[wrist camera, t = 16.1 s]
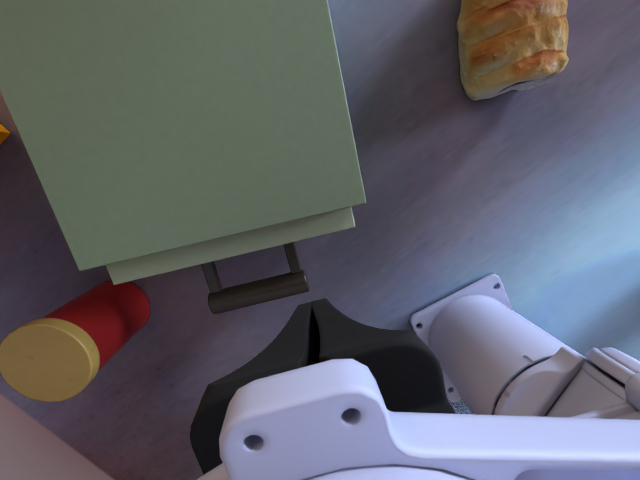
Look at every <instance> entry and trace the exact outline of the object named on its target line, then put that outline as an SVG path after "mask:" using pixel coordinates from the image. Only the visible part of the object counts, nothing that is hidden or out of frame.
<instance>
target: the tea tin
mask: <svg viewBox="0 0 640 480" xmlns="http://www.w3.org/2000/svg"><path fill="white" fill-rule="evenodd" d="M149 314H150V304H149V301H148V298H147V296H146V295H145V293H144V292H143V291H142V290H141V289H140V288H139V287H137V286H136V285H134V284H132V283H130V282H125V283H121V284H116V285H114V284H113V282H112V280H111V281H107V282H104V283H102V284H100V285H98V286H97V287H95V288H93V289H91V290H90V291H88V292H86V293H84V294H83V295H81V296H79V297H77V298H76V299H74V300H72V301H70V302H69V303H67V304H65V305H63V306H62V307H60V308H58V309H56V310H55V311H53V312H51V313H49V314H48V315H46V316H44V317H43V318H41V319H37V320H34V321H31V322H29V323H26V324H25V325H23V326H21V327H19V328H17V329H16V330H14V331H12V332H11V333H10V334H9V335H7V336H6V338H5V339H4V340H3V341H2V343H1V345H0V373H1V375H2V376H3V378H4V380H5V381H6V382H7V383H8V384H9V385H10V386H11V387H12V388H13V389H14V390H15V391H17V392H18V393H20V394H22V395H23V396H26V397H28V398H30V399H33V400H37V401H43V402H58V401H63V400H67V399H70V398H72V397H74V396H76V395H77V394H79V393H80V392H81V391H82V390H84V388H85V387H86V386H87V385H88V384H89V383H90V382H91V381H92V380H93V379H94V377H95V376H96V374H97V372H98V371H99V370H100V369H101V368H102V367H103V366H104V365H105V364H106V363H107V362H108V361H109V360H110V359H111V358H112V357H113V356H114V355H115V354H116V353H117V351H118V350H119V349H120V348H121V347H122V346H123V345H124V344H125V343H126V342H127V341H128V340H129V339H130V338H131V337H132V336H133V335H134V334H135V333H136V332H137V331H138V330H139V329H140V328H141V327H142V326H143V325H144V324H145V323H146V322H147V320H148V318H149Z"/></svg>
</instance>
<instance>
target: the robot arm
mask: <svg viewBox="0 0 640 480" xmlns="http://www.w3.org/2000/svg"><path fill="white" fill-rule="evenodd" d="M496 283H497V285H496V287H494V285H495V284H496ZM409 321H410V323H411V325H412V327H413V329H414V331H415V333H416V334H415V333H414V332H413V331H411V330H386V329H379V328H374V327H371V326H367V325H364V324H361V323H359V322H356V321H354V320H352V319H350V318H349V317H347V316H345V315H344V314H342V313H341V312H340V311H339V310H337V309H336V308H335V307H334V306H333V305H332V304H331V303H330V302H329V301H328V300H327V299H325V298H324V299H320V300H316V301H313V302H309V303H305V304H301V305H298V307H297V308H296V310H295V311H294V313H293V315H292V316H291V318H290V320H289V321H288V323H287V324H286V326H285V327H284V328H283V329H282V331H281V332H280V333H279V335H278V336H277V337H276V338H275V339H274V340H273V342H272V343H271V344H270V345H269V346H268V347H267V348H265V349H264V350H263V351H262V352H261V353H259V354H258V355H257V356H256V357H255V358H253V359H252V360H251V361H249V362H248V363H246V364H245V365H244V366H242V367H240V368H239V369H237V370H236V371H234V372H232V373H230V374H229V375H227V376H225V377H223V378H221V379H219V380H217V381H215V382H213V383H211V384H208V386H207V388H206V391H205V393H204V395H203V397H202V399H201V402H200V405H199V407H198V410H197V412H196V415H195V417H194V420H193V422H192V425H191V432H190V440H191V444H192V448H193V450H194V453H195V455H196V457H197V460H198V462H199V464H200V467H201V469H202V471H203V474H204V475H203V476H201V477H200V478H198V479H197V480H640V361H638V360H636V359H635V358H633V357H631V356H629V355H627V354H625V353H623V352H621V351H619V350H617V349H615V348H612V347H609V348H600V349H597V348H591V349H589V351H588V352H587V354H586V355H585V356H586V357H585V356H582V355H581V354H579V353H578V352H576V351H575V350H573V349H571V348H570V347H568V346H567V345H565V344H564V343H562V342H561V341H559V340H558V339H556V338H554V337H553V336H551V335H550V334H548V333H547V332H545V331H544V330H542V329H540V328H539V327H537V326H536V325H534V324H533V323H531V322H530V321H528V320H526V319H525V318H523V317H522V316H520V315H519V314H517V313H516V312H514V311H513V309H512V307H511V304H510V302H509V299H508V297H507V294H506V292H505V290H504V287H503V285H502V282H501V280H500V278H499V276H497V275H495V274H491V275H488V276H487V277H485V278H483V279H481V280H479V281H477V282H475V283H473V284H471V285H469V286H467V287H465V288H463V289H461V290H459V291H457V292H456V293H454V294H452V295H450V296H448V297H446V298H444V299H442V300H440V301H438V302H436V303H434V304H432V305H430V306H428V307H426V308H425V309H423V310H421V311H419V312H417V313H415V314H413V315H412V316H411V317H410V319H409ZM419 323H421V324H420V326H418V327H416V325H417V324H419ZM450 387H451V388H450ZM449 388H450V389H449ZM446 395H447V396H446ZM447 397H448V399H449V400H450V401H451V402H452V403H456V402H458V401H460V400H462V399H463V400H464V402H465V403H466V404H467V406H468V407H469V408H470V410H471V411H472V413H473V414H455V412H454V410H453V408H452V406H451V405H450V403H449V402H448V400H447Z"/></svg>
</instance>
